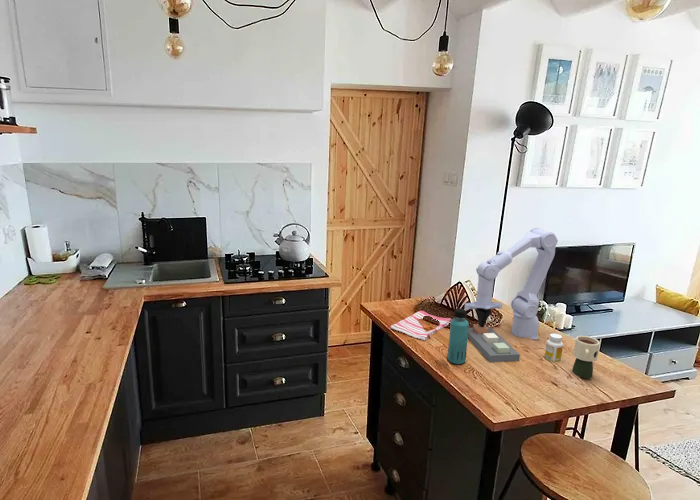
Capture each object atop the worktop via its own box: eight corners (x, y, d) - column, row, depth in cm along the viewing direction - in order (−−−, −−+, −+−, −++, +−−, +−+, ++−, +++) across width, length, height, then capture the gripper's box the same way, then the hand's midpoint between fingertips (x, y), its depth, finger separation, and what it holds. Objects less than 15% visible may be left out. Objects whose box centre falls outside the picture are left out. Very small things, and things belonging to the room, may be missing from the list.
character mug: (594, 385, 145) (600, 348, 142) (570, 380, 148) (576, 344, 145) (593, 370, 155) (599, 336, 152) (570, 366, 158) (575, 331, 155)
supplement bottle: (559, 358, 163) (563, 333, 161) (561, 365, 158) (565, 339, 156) (543, 356, 165) (547, 331, 162) (544, 362, 160) (548, 337, 158)
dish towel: (452, 325, 191) (453, 318, 191) (424, 343, 174) (425, 334, 173) (418, 315, 202) (419, 308, 201) (388, 330, 185) (389, 322, 184)
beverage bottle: (455, 369, 153) (460, 314, 148) (442, 361, 159) (447, 308, 154) (469, 365, 156) (474, 312, 151) (457, 357, 162) (461, 305, 157)
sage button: (503, 350, 163) (504, 342, 162) (508, 355, 159) (509, 347, 158) (492, 350, 162) (493, 343, 162) (497, 356, 158) (498, 348, 158)
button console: (489, 335, 182) (490, 327, 181) (518, 363, 159) (519, 354, 158) (463, 335, 180) (464, 327, 179) (489, 364, 157) (490, 355, 156)
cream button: (492, 340, 171) (493, 332, 170) (497, 344, 167) (498, 337, 166) (482, 340, 171) (483, 333, 170) (487, 345, 166) (487, 337, 166)
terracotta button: (483, 331, 179) (484, 324, 179) (487, 335, 175) (488, 328, 175) (473, 331, 179) (474, 324, 178) (477, 335, 175) (478, 328, 174)
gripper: (471, 297, 168) (467, 330, 171) (507, 296, 170) (503, 329, 173) (463, 290, 175) (460, 323, 178) (498, 290, 177) (495, 322, 180)
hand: (481, 325), depth 176 cm, fingers closed
